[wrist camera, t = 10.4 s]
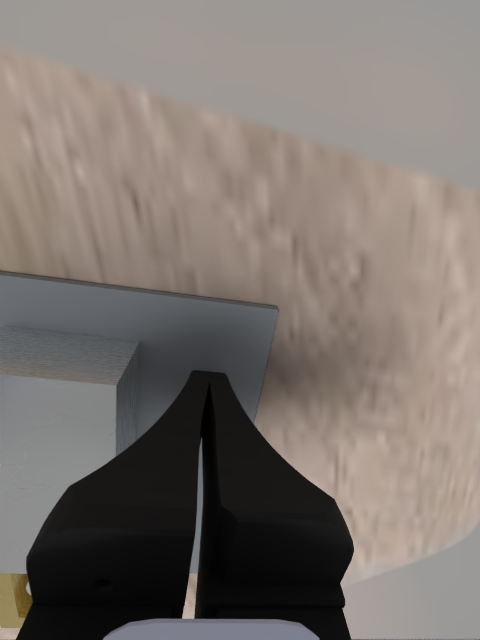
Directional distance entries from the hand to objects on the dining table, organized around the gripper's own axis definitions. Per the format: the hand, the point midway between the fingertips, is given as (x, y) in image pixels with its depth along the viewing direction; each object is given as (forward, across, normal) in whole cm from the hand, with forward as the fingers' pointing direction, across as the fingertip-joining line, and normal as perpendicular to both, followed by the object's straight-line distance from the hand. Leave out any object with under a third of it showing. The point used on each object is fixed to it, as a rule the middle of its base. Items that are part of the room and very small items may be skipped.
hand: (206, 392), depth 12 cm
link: (+1, +5, +5) cm, 7 cm away
